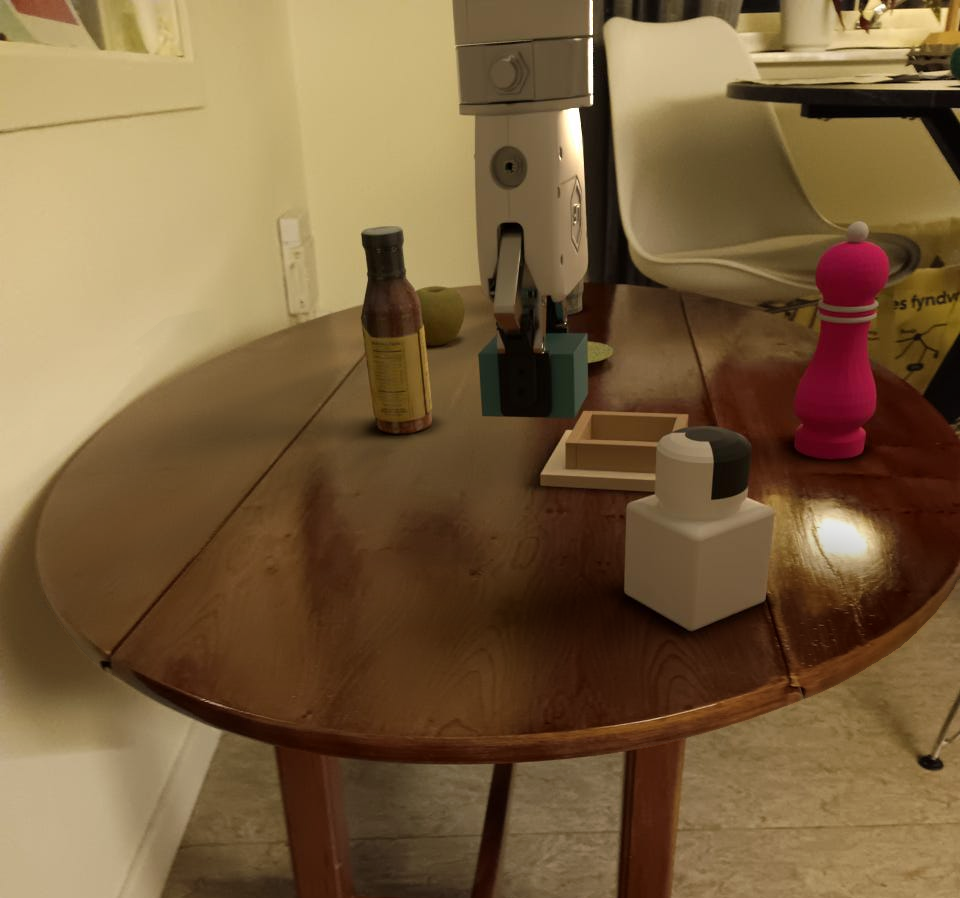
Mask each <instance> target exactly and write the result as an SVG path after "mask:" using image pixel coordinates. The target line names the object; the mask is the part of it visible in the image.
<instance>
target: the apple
mask: <svg viewBox="0 0 960 898" xmlns="http://www.w3.org/2000/svg"><path fill="white" fill-rule="evenodd" d="M415 291H416V293H417V295H418V297H419V300H420V304H421V313H422V323H423V324H424V332H425V342H426V347H441V346H445V345H448V344H449V343H451V342H452V341H454V340H455V339H456V337H457V336H458V334H459V332H460V331H461V328H462V327H463V322H464V317H465V306H464V305H465V304H464V302H463V298H462V296H461V294H459V292H458V291H457V290H455V289H454V288H452V287H448V286H438V285H432V286H425V287H422V288H418V289H417V290H415Z"/></svg>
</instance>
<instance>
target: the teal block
mask: <svg viewBox="0 0 960 898" xmlns="http://www.w3.org/2000/svg"><path fill="white" fill-rule="evenodd" d="M588 340H589V339H588V333H587V332H568V333H546V341H545V351H551V379H552V412H551V414H550V415H549V416H548V417H540V418H545V419H546V418H547V419H575V418H576V417H577V415H578V413H579V411H580V409H581V407H582V406H583V404H584V402H585V400H586V398H587V396H588V394H589V363H588ZM477 356H478V357H477V358H478V372H479V374H478V375H479V386H480V387H479V388H480V402H481V416H482V417H497V418H498V417H499V418H501V417H504V418H507V417H506V416H504V415H502V413H501V410H500V391H499V373H498V355H497V334H495V336H493V337H492V339H490V341H489V342H488V343H487V344H486V345H485V346H484V347H483V348H482V349H481V350H480V351H479V352H478V354H477Z"/></svg>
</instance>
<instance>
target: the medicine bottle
mask: <svg viewBox="0 0 960 898" xmlns="http://www.w3.org/2000/svg"><path fill="white" fill-rule="evenodd" d="M752 448H753V447H752V444H751V443H750V442H749V440H748V439H747V437H745V436H744V435H743V434H741V433H739V432H735V431H733V430H731V429H728V428H725V427H720V426H714V425H713V426H712V425H692V426H688V427H686V428H682V429H678V430H676V431H673V432H670V433H668V434H666V435H665V436H663V437H662V439H661V440H660V441H659V442H658V443H657V452H656V476H655V492H654V494H651V495H648V496H645V497H643V498H640V499H636V500H633V501H630V502H628V503H627V505H626V507H625V510H626V511H625V544H624V545H625V546H624V581H623V582H624V586H623V591H624V594H625V595H626V596H628V597H630V598H631V599H633V600H635V601H637V602H638V603H640V604H642V605H644V606H645V607H647V608H649V609H651V610H653V611H654V612H656V613H658V614H659V615H661V616H663V617H665V618H666V619H668V620H670V621H672V622H673V623H675V624H677V625H678V626H680V627H681V628H684V629H685V630H687V631H689V632H694V631H696V630H697V631H698V630H699V629H702V628H704V627H707V626H709V625H711V624H714V623H716V622H718V621H721V620H723V619H726V618H728V617H730V616H733V615H736V614H738V613H740V612H743V611H745V610H747V609H750V608H752V607H755V606H757V605H759V604H762V603H763V602H765V601H766V599H767V589H768V579H769V570H770V563H771V562H770V561H771V554H772V552H771V551H772V544H773V534H774V533H773V532H774V525H775V515H776V511H775V509H774V508H773V507H772V506H768V505H766V504H764V503H762V502H759V501H757V500H754V499H752V498H749V497H748V492H749V481H750V480H749V479H750V470H751V469H750V468H751V459H752Z"/></svg>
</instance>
